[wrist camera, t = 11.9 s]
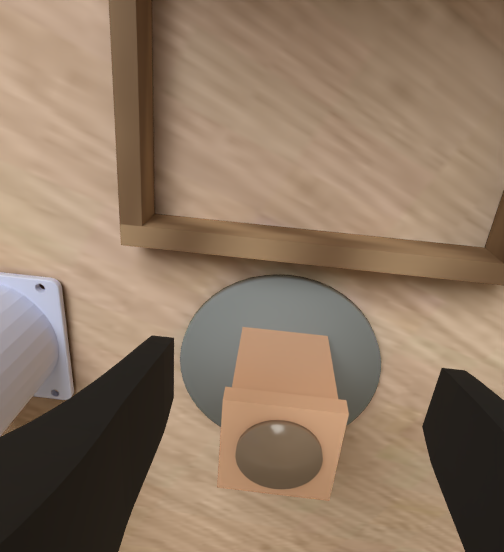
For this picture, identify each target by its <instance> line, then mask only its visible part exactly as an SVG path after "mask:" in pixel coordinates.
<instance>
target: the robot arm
mask: <svg viewBox="0 0 504 552" xmlns="http://www.w3.org/2000/svg"><path fill="white" fill-rule="evenodd" d="M39 284H42V285H43V286H44V287H45V289H42V288H41V287H40V285H39ZM54 389H55V390H57V391H58V392H57V391H55V390H54ZM73 394H74V386H73V378H72V369H71V361H70V352H69V344H68V335H67V327H66V318H65V310H64V301H63V293H62V286H61V284H60V282H59V281H58V280H56V279H54V278H49V277H39V276H30V275H21V274H12V273H2V272H0V436H1V435H2V434H3V432H4V431H5V430H6V429H7V427H8V426H9V425H10V424H11V423H12V421H13V420H14V419H15V418H16V416H17V415H18V414H19V413H20V411H21V410H22V409H23V408H24V406H25V405H26V404H27V403H28V402H29V400H30V399H31V398H32V397H33V396H35V397H43V398H52V399H60V400H67V401H65V402H63V403H62V404H60V405H59V406H57V407H55V408H54V409H52V410H50V411H49V412H47V413H45V414H43V415H42V416H40V417H38V418H36V419H35V420H33V421H31V422H29V423H27V424H26V425H24V426H22V427H20V428H18V429H16V430H14V431H12V432H10V433H8V434H6V435H4V436H2V437H0V552H118V551H119V548H120V545H121V541H122V538H123V535H124V532H125V528H126V525H127V523H128V520H129V517H130V515H131V512H132V509H133V507H134V504H135V502H136V499H137V497H138V494H139V492H140V490H141V487H142V485H143V482H144V480H145V477H146V475H147V473H148V470H149V468H150V465H151V463H152V461H153V458H154V456H155V453H156V451H157V448H158V446H159V443H160V441H161V438H162V436H163V433H164V431H165V427H166V424H167V420H168V417H169V413H170V409H171V405H172V402H173V398H174V338H170V337H161V336H151V337H149V338H148V339H147V340H146V341H144V342H143V343H142V344H141V345H139V346H138V347H137V348H136V349H135V350H133V351H132V352H131V353H130V354H128V355H127V356H126V357H125V358H124V359H122V360H121V361H120V362H119V363H117V364H116V365H115V366H114V367H112V368H111V369H110V370H108V371H107V372H106V373H105V374H103V375H102V376H101V377H99V378H98V379H97V380H95V381H94V382H93V383H91V384H90V385H88V386H87V387H85V388H84V389H83V390H81V391H80V392H78V393H77V394H76V395H74V396H73V397H72V395H73ZM422 427H423V432H424V436H425V441H426V445H427V449H428V453H429V457H430V461H431V464H432V467H433V470H434V472H435V475H436V478H437V480H438V483H439V485H440V488H441V491H442V493H443V496H444V498H445V501H446V503H447V506H448V509H449V511H450V514H451V516H452V519H453V521H454V524H455V526H456V529H457V532H458V534H459V537H460V539H461V542H462V544H463V547H464V549H465V552H504V400H503V399H501V398H500V397H499V396H498V395H496V394H495V393H494V392H493V391H491V390H490V389H489V388H488V387H486V386H485V385H484V384H483V383H481V382H480V381H479V380H478V379H476V378H475V377H474V376H472V375H471V374H469V373H468V372H467V371H465V370H456V369H447V368H442V369H441V372H440V375H439V378H438V381H437V384H436V387H435V390H434V393H433V396H432V399H431V402H430V405H429V408H428V411H427V414H426V417H425V420H424V423H423V426H422Z"/></svg>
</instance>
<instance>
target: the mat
mask: <svg viewBox="0 0 504 552" xmlns="http://www.w3.org/2000/svg"><path fill="white" fill-rule="evenodd" d="M242 327H249V328H258V329H268V330H277V331H286V332H296V333H305V334H314V335H324V336H328V340H329V346H330V352H331V358H332V364H333V370H334V376H335V382H336V388H337V394H338V399H341V400H346V401H347V406H348V412H349V416H348V420H347V425H348V424H349V423H351V422H352V421H353V420H354V419H356V418H357V417H358V416H359V415H360V413H361V412H362V411H363V410H364V409H365V408H366V406H367V405H368V404H369V402H370V401H371V399H372V397H373V395H374V393H375V391H376V388H377V385H378V382H379V378H380V372H381V357H380V350H379V346H378V343H377V340H376V337H375V334H374V331H373V329H372V327H371V325H370V323H369V321H368V320H367V318H366V317H365V316H364V314H363V313H362V311H361V310H360V309H359V308H358V307H357V306H356V305H355V304H354V303H353V302H352V301H351V300H349V299H348V298H347V297H346V296H344V295H343V294H342V293H340V292H338V291H337V290H335V289H333V288H332V287H330V286H327V285H325V284H323V283H320V282H318V281H315V280H311V279H308V278H304V277H298V276H292V275H264V276H258V277H253V278H248V279H245V280H242V281H239V282H236V283H234V284H232V285H230V286H228V287H226V288H224V289H222V290H221V291H219V292H218V293H216V294H214V295H213V296H212V297H211V298H210V299H209V300H207V301H206V302H205V303H204V304H203V305H202V306H201V308H200V309H199V310H198V311H197V312H196V314H195V315H194V317H193V319H192V320H191V322H190V324H189V326H188V329H187V331H186V333H185V336H184V339H183V343H182V347H181V355H180V365H181V373H182V377H183V381H184V384H185V386H186V389H187V391H188V393H189V394H190V396H191V398H192V400H193V401H194V402H195V404H196V405H197V406H198V408H199V409H200V410H201V411H202V412H203V413H204V414H205V415H206V416H207V417H208V418H209V419H211V420H212V421H213V422H214V423H216V424H217V425H219V426H220V427H221V419H222V404H223V396H224V391H225V387H232V384H233V378H234V372H235V367H236V361H237V355H238V350H239V344H240V339H241V333H242ZM347 425H346V426H347Z"/></svg>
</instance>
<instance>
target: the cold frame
mask: <svg viewBox="0 0 504 552" xmlns="http://www.w3.org/2000/svg"><path fill="white" fill-rule="evenodd" d="M109 15H110V35H111V55H112V75H113V95H114V115H115V135H116V155H117V175H118V195H119V216H120V236H121V245H125V246H135V247H144V248H154V249H163V250H173V251H182V252H192V253H201V254H211V255H220V256H230V257H239V258H249V259H258V260H268V261H277V262H287V263H296V264H306V265H315V266H325V267H334V268H344V269H353V270H363V271H372V272H382V273H391V274H401V275H410V276H420V277H429V278H439V279H448V280H458V281H467V282H477V283H486V284H496V285H504V192H503V195H502V198H501V201H500V204H499V207H498V210H497V213H496V216H495V219H494V222H493V225H492V228H491V231H490V234H489V237H488V240H487V242H486V245H485V248H482V247H472V246H462V245H453V244H443V243H433V242H423V241H414V240H404V239H394V238H384V237H375V236H365V235H355V234H345V233H336V232H326V231H316V230H306V229H297V228H287V227H277V226H267V225H258V224H248V223H238V222H228V221H219V220H209V219H199V218H189V217H180V216H170V215H160V214H155V209H154V137H153V65H152V0H109Z"/></svg>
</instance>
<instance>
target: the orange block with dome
mask: <svg viewBox="0 0 504 552" xmlns="http://www.w3.org/2000/svg"><path fill="white" fill-rule="evenodd" d="M348 416H349V412H348V406H347V401H346V400H341V399H338V394H337V388H336V382H335V376H334V370H333V364H332V358H331V352H330V346H329V340H328V336H324V335H314V334H305V333H296V332H286V331H277V330H268V329H258V328H249V327H242V333H241V339H240V344H239V350H238V355H237V361H236V367H235V372H234V378H233V384H232V387H225V391H224V396H223V404H222V419H221V435H220V450H219V466H218V481H217V487H218V488H227V489H235V490H243V491H252V492H260V493H269V494H277V495H285V496H294V497H302V498H310V499H319V500H327V501H329V499H330V495H331V490H332V486H333V482H334V477H335V473H336V469H337V464H338V460H339V455H340V451H341V447H342V442H343V438H344V434H345V429H346V425H347V420H348Z"/></svg>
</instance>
